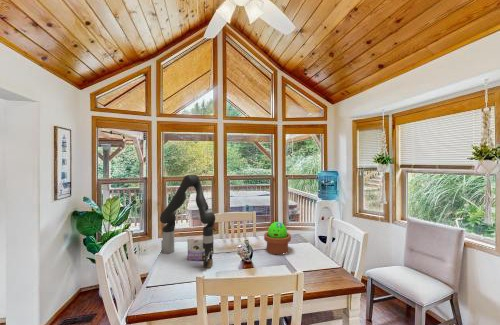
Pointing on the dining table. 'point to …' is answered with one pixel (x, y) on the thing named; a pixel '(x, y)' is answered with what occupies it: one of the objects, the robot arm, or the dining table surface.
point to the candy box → (195, 248)
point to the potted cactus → (277, 238)
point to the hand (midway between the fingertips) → (208, 263)
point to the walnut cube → (208, 263)
